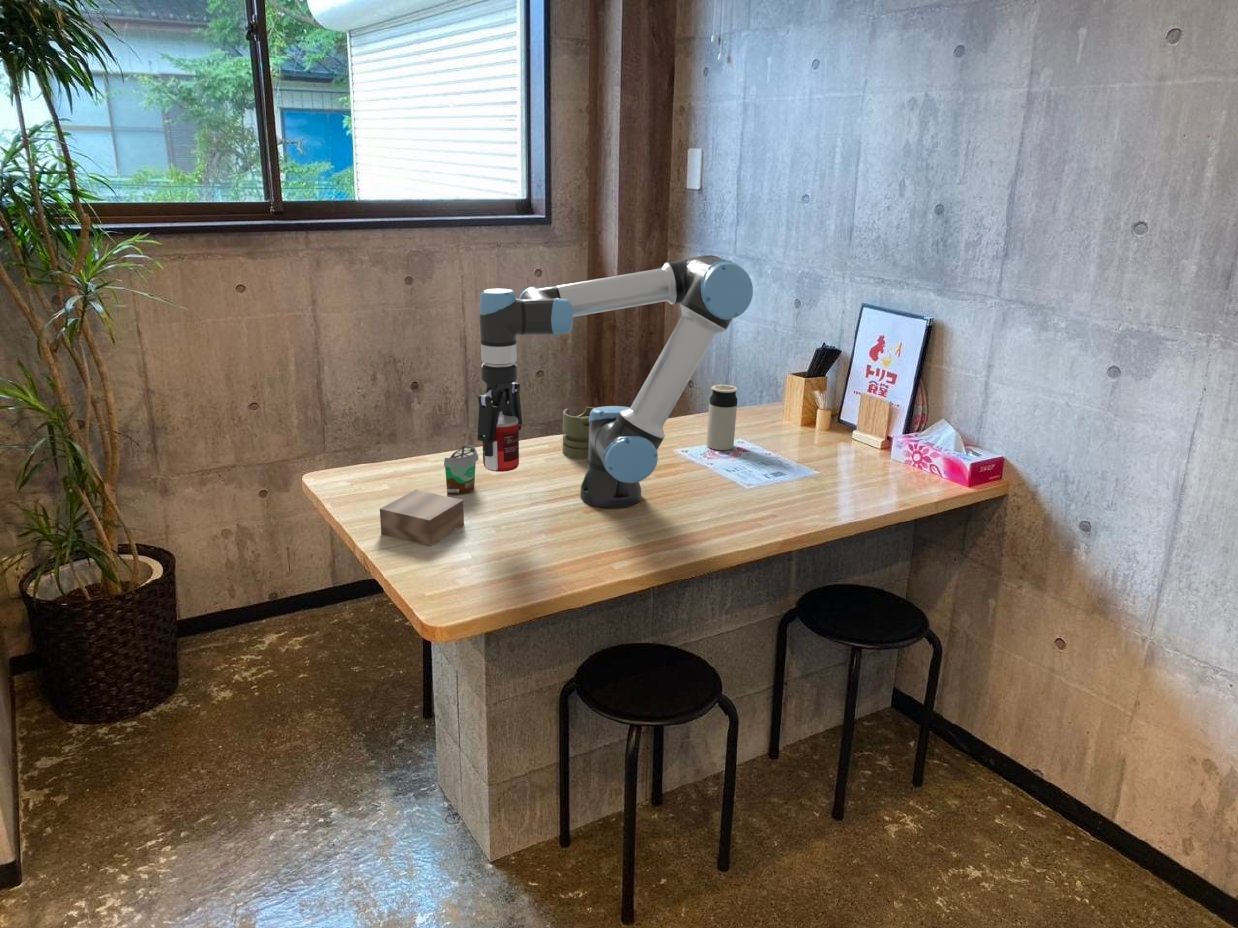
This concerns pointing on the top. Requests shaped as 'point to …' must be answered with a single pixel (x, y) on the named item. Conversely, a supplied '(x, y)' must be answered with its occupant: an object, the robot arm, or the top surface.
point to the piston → (576, 434)
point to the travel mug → (722, 417)
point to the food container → (461, 470)
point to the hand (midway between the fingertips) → (501, 463)
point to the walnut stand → (422, 517)
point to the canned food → (506, 443)
